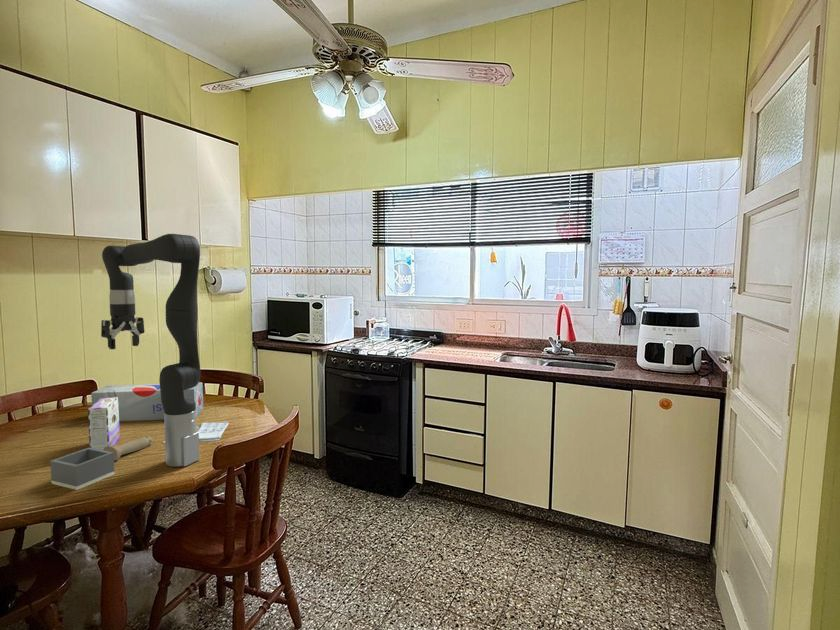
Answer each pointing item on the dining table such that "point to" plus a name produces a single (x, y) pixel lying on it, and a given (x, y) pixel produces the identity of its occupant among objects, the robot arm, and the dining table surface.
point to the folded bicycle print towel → (210, 431)
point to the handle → (129, 447)
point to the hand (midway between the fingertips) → (124, 347)
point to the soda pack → (144, 400)
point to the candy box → (104, 423)
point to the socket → (82, 468)
